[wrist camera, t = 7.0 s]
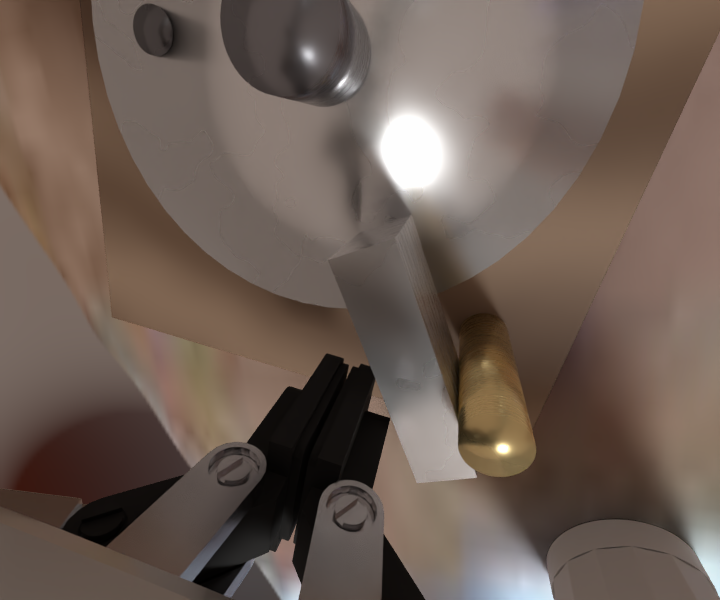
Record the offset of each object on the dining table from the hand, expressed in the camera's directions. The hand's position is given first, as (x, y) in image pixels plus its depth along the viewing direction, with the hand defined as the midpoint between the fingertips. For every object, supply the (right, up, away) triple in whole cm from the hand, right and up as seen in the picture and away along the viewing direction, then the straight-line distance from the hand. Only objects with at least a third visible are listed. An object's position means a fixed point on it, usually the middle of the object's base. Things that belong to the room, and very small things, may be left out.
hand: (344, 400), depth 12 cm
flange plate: (+1, +8, 0) cm, 8 cm away
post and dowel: (+2, +6, 0) cm, 7 cm away
